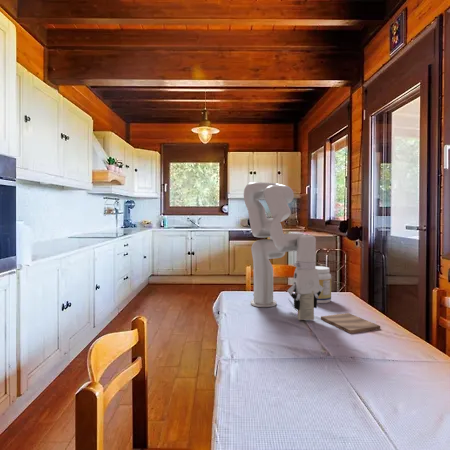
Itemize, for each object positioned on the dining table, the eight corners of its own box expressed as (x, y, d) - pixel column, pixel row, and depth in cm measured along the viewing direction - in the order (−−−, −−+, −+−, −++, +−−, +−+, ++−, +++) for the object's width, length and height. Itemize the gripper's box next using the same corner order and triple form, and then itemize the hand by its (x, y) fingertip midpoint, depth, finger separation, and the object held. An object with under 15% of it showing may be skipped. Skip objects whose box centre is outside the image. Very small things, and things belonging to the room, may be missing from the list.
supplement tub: (301, 299, 173) (301, 266, 172) (319, 296, 178) (319, 265, 178) (318, 305, 162) (318, 270, 161) (336, 301, 168) (336, 268, 167)
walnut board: (320, 319, 140) (320, 316, 140) (348, 315, 145) (348, 313, 145) (350, 333, 123) (350, 330, 123) (380, 329, 128) (380, 325, 128)
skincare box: (312, 316, 140) (312, 288, 139) (314, 320, 136) (314, 290, 135) (296, 316, 141) (297, 287, 140) (298, 319, 136) (298, 290, 136)
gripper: (292, 268, 131) (291, 313, 132) (329, 265, 136) (328, 308, 137) (282, 265, 138) (282, 307, 139) (318, 263, 144) (318, 303, 144)
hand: (305, 307), depth 138 cm, fingers closed on skincare box, 7 cm apart
